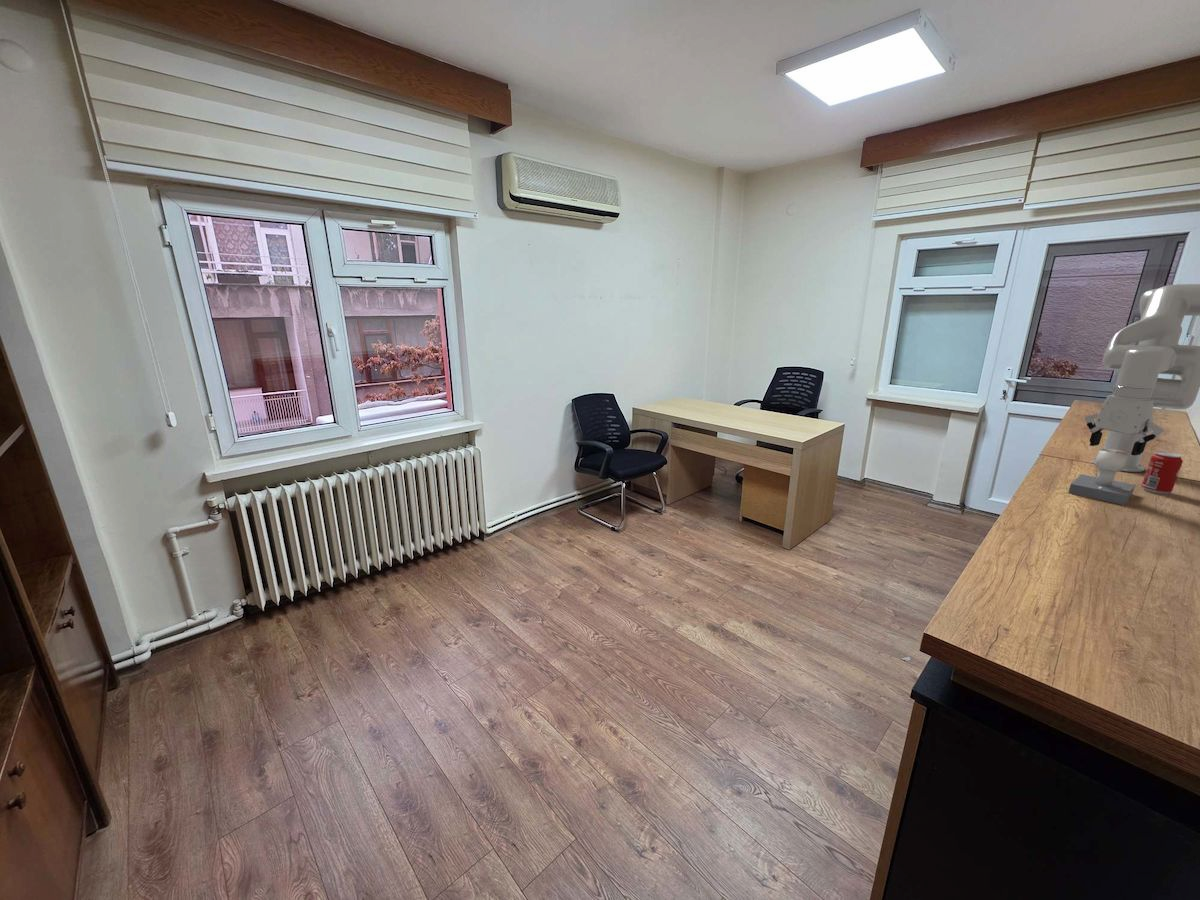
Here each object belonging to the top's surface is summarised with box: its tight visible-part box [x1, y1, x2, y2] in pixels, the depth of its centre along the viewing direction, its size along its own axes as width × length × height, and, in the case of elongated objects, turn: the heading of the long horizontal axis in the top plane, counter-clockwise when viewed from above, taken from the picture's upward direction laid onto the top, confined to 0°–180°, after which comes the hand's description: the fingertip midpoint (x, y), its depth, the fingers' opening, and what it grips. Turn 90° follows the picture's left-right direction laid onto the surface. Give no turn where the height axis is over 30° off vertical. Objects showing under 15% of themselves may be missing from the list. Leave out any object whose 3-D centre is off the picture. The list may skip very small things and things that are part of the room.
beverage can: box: [1141, 451, 1184, 495], centre depth 146 cm, size 6×6×12 cm
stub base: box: [1068, 468, 1136, 506], centre depth 145 cm, size 14×12×8 cm
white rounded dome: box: [1094, 448, 1128, 472], centre depth 143 cm, size 6×6×5 cm
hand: (1114, 449), depth 143 cm, fingers open, 9 cm apart
